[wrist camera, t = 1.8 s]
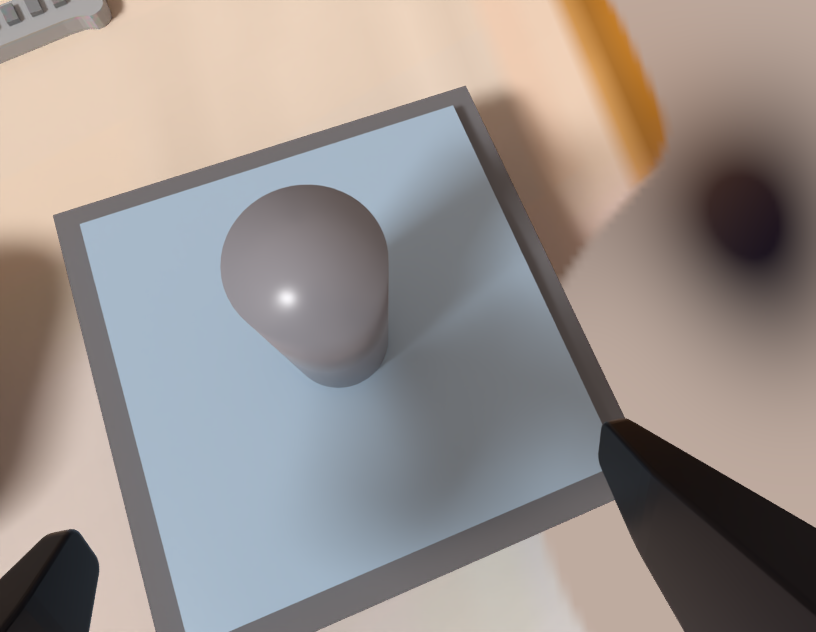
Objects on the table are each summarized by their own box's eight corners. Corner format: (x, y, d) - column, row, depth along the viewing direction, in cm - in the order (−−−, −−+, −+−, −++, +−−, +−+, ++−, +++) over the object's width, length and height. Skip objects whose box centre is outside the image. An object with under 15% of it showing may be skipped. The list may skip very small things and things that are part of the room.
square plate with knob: (612, 462, 16) (798, 473, 9) (197, 640, 14) (2, 836, 7) (450, 116, 19) (491, -94, 12) (90, 231, 17) (-128, 72, 10)
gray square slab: (603, 475, 20) (655, 481, 16) (218, 641, 18) (171, 694, 14) (452, 146, 23) (465, 85, 19) (114, 258, 21) (52, 215, 17)
